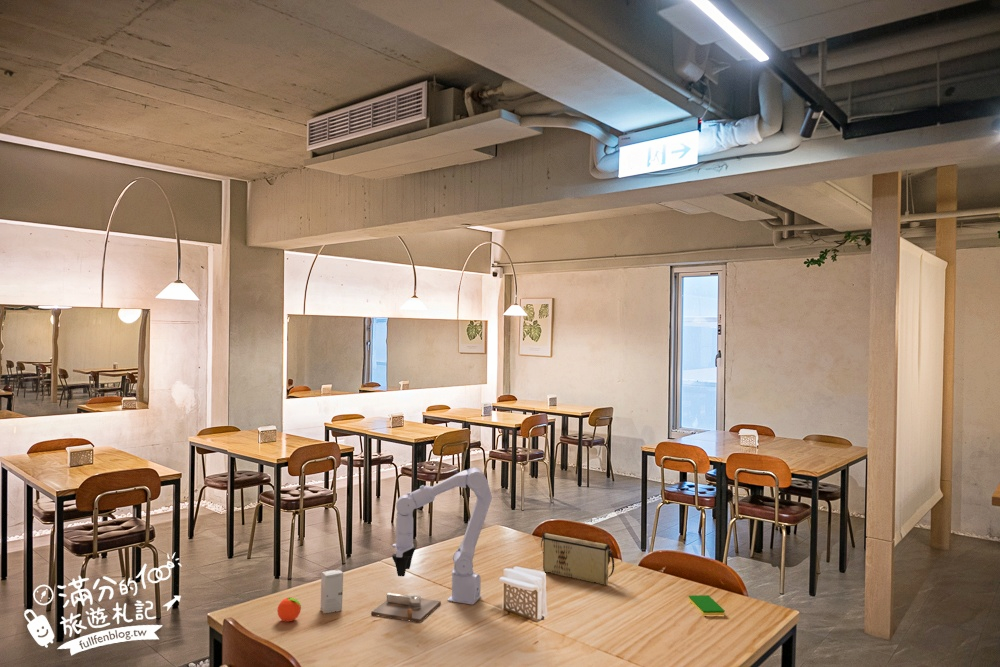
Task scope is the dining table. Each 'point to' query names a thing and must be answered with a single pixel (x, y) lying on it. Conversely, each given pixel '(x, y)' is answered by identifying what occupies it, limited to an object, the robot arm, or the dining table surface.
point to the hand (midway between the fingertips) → (403, 572)
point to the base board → (406, 610)
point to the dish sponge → (706, 605)
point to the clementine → (289, 609)
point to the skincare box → (331, 591)
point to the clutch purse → (576, 558)
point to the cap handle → (404, 599)
